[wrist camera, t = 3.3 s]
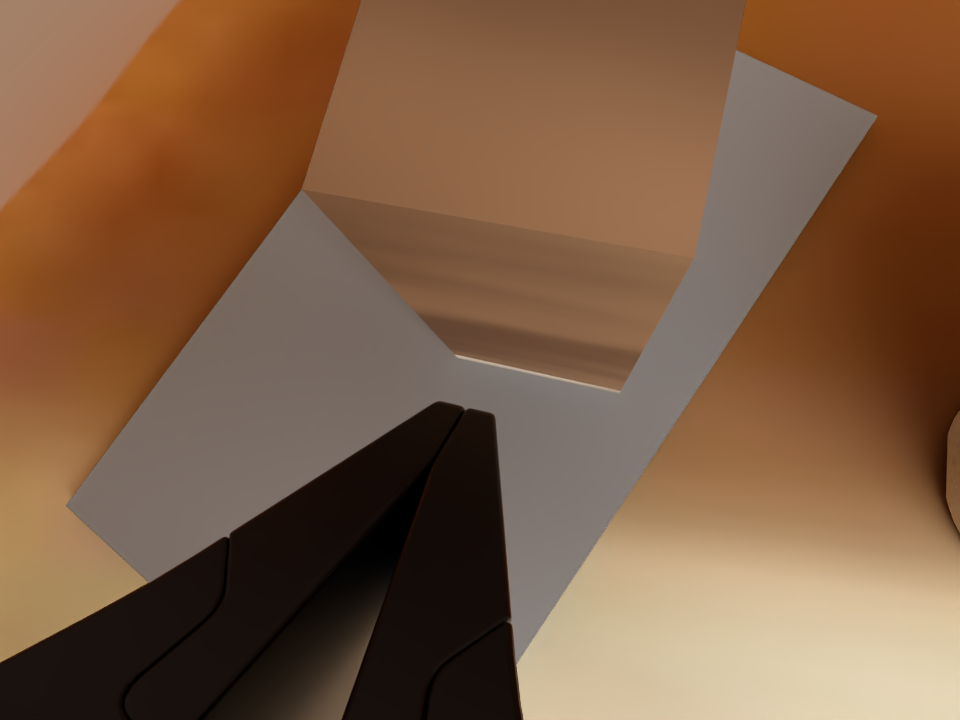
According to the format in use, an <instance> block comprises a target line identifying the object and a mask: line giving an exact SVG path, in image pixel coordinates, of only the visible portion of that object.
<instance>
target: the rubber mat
mask: <svg viewBox="0 0 960 720" xmlns="http://www.w3.org/2000/svg"><path fill="white" fill-rule="evenodd" d="M877 117H878V116H877V115H875V114H873V113H871V112H869V111H867V110H864V109H862V108H860V107H858V106H856V105H854V104H851V103H849V102H847V101H845V100H843V99H841V98H839V97H836V96H834V95H832V94H830V93H828V92H826V91H823V90H821V89H819V88H817V87H815V86H813V85H811V84H808V83H806V82H804V81H802V80H800V79H798V78H795V77H793V76H791V75H789V74H787V73H785V72H783V71H780V70H778V69H776V68H774V67H772V66H770V65H767V64H765V63H763V62H761V61H759V60H757V59H755V58H752V57H750V56H748V55H746V54H744V53H742V52H739V51H737V50H736V53H735V58H734V63H733V68H732V73H731V78H730V83H729V88H728V93H727V98H726V102H725V107H724V112H723V117H722V122H721V127H720V132H719V137H718V142H717V147H716V152H715V157H714V162H713V167H712V172H711V177H710V182H709V187H708V192H707V197H706V202H705V207H704V212H703V217H702V222H701V227H700V232H699V237H698V242H697V247H696V252H695V257H694V259H693V261H692V263H691V265H690V267H689V269H688V270H687V272H686V274H685V276H684V278H683V279H682V281H681V283H680V285H679V287H678V288H677V290H676V292H675V294H674V296H673V297H672V299H671V301H670V303H669V305H668V306H667V308H666V310H665V312H664V314H663V315H662V317H661V319H660V321H659V323H658V324H657V326H656V328H655V330H654V332H653V334H652V335H651V337H650V339H649V341H648V343H647V344H646V346H645V348H644V350H643V352H642V353H641V355H640V357H639V359H638V361H637V362H636V364H635V366H634V368H633V370H632V371H631V373H630V375H629V377H628V379H627V380H626V382H625V384H624V386H623V388H622V389H621V391H620V393H619V394H618V393H613V392H609V391H604V390H600V389H595V388H591V387H586V386H582V385H577V384H573V383H568V382H564V381H559V380H555V379H550V378H546V377H541V376H537V375H532V374H528V373H523V372H519V371H514V370H510V369H505V368H501V367H496V366H492V365H487V364H483V363H478V362H474V361H469V360H465V359H460V358H457V357H456V355H455V354H454V353H453V352H452V351H451V350H450V349H449V348H448V347H447V346H446V345H445V344H444V343H443V341H442V340H441V339H440V338H439V337H438V336H437V335H436V334H435V333H434V332H433V331H432V330H431V328H430V327H429V326H428V325H427V324H426V323H425V322H424V321H423V320H422V319H421V318H420V317H419V316H418V314H417V313H416V312H415V311H414V310H413V309H412V308H411V307H410V306H409V305H408V304H407V303H406V301H405V300H404V299H403V298H402V297H401V296H400V295H399V294H398V293H397V292H396V291H395V290H394V289H393V287H392V286H391V285H390V284H389V283H388V282H387V281H386V280H385V279H384V278H383V277H382V276H381V274H380V273H379V272H378V271H377V270H376V269H375V268H374V267H373V266H372V265H371V264H370V263H369V262H368V260H367V259H366V258H365V257H364V256H363V255H362V254H361V253H360V252H359V251H358V250H357V249H356V247H355V246H354V245H353V244H352V243H351V242H350V241H349V240H348V239H347V238H346V237H345V236H344V234H343V233H342V232H341V231H340V230H339V229H338V228H337V227H336V226H335V225H334V224H333V223H332V222H331V220H330V219H329V218H328V217H327V216H326V215H325V214H324V213H323V212H322V211H321V210H320V209H319V207H318V206H317V205H316V204H315V203H314V202H313V201H312V200H311V199H310V198H309V197H308V196H307V195H306V193H305V192H304V191H303V190H301V191H300V192H299V194H298V195H297V196H296V198H295V199H294V200H293V202H292V203H291V204H290V206H289V207H288V208H287V210H286V211H285V212H284V214H283V215H282V217H281V218H280V219H279V221H278V222H277V223H276V225H275V226H274V227H273V229H272V230H271V231H270V233H269V234H268V235H267V237H266V238H265V239H264V241H263V242H262V243H261V245H260V246H259V247H258V249H257V250H256V251H255V253H254V254H253V255H252V257H251V258H250V259H249V261H248V262H247V263H246V265H245V266H244V267H243V269H242V270H241V271H240V273H239V274H238V276H237V277H236V278H235V280H234V281H233V282H232V284H231V285H230V286H229V288H228V289H227V290H226V292H225V293H224V294H223V296H222V297H221V298H220V300H219V301H218V302H217V304H216V305H215V306H214V308H213V309H212V310H211V312H210V313H209V314H208V316H207V317H206V318H205V320H204V321H203V322H202V324H201V325H200V326H199V328H198V329H197V330H196V332H195V333H194V334H193V336H192V337H191V339H190V340H189V341H188V343H187V344H186V345H185V347H184V348H183V349H182V351H181V352H180V353H179V355H178V356H177V357H176V359H175V360H174V361H173V363H172V364H171V365H170V367H169V368H168V369H167V371H166V372H165V373H164V375H163V376H162V377H161V379H160V380H159V381H158V383H157V384H156V385H155V387H154V388H153V389H152V391H151V392H150V393H149V395H148V396H147V398H146V399H145V400H144V402H143V403H142V404H141V406H140V407H139V408H138V410H137V411H136V412H135V414H134V415H133V416H132V418H131V419H130V420H129V422H128V423H127V424H126V426H125V427H124V428H123V430H122V431H121V432H120V434H119V435H118V436H117V438H116V439H115V440H114V442H113V443H112V444H111V446H110V447H109V448H108V450H107V451H106V452H105V454H104V455H103V457H102V458H101V459H100V461H99V462H98V463H97V465H96V466H95V467H94V469H93V470H92V471H91V473H90V474H89V475H88V477H87V478H86V479H85V481H84V482H83V483H82V485H81V486H80V487H79V489H78V490H77V491H76V493H75V494H74V495H73V497H72V498H71V499H70V501H69V502H68V503H67V505H66V507H68V508H69V509H70V510H71V511H72V512H73V513H74V514H75V515H76V516H77V517H78V518H79V519H81V520H82V521H83V522H84V523H85V524H86V525H87V526H88V527H89V528H90V529H91V530H92V531H94V532H95V533H96V534H97V535H98V536H99V537H100V538H101V539H102V540H103V541H104V542H105V543H107V544H108V545H109V546H110V547H111V548H112V549H113V550H114V551H115V552H116V553H117V554H118V555H120V556H121V557H122V558H123V559H124V560H125V561H126V562H127V563H128V564H129V565H130V566H131V567H133V568H134V569H135V570H136V571H137V572H138V573H139V574H140V575H141V576H142V577H143V578H144V579H145V580H147V581H148V582H151V581H153V580H154V579H156V578H158V577H159V576H161V575H162V574H164V573H166V572H167V571H169V570H171V569H172V568H174V567H176V566H177V565H179V564H181V563H182V562H184V561H185V560H187V559H189V558H190V557H192V556H194V555H195V554H197V553H199V552H200V551H202V550H203V549H205V548H206V547H208V546H209V545H211V544H213V543H214V542H216V541H217V540H219V539H220V538H222V537H228V538H229V535H230V533H231V532H232V531H233V530H235V529H237V528H238V527H240V526H241V525H243V524H244V523H246V522H248V521H249V520H251V519H252V518H254V517H255V516H257V515H258V514H260V513H262V512H263V511H265V510H266V509H268V508H269V507H271V506H273V505H274V504H276V503H277V502H279V501H280V500H282V499H284V498H285V497H287V496H288V495H290V494H291V493H293V492H295V491H296V490H298V489H299V488H301V487H302V486H304V485H305V484H307V483H309V482H310V481H312V480H313V479H315V478H316V477H318V476H320V475H321V474H323V473H324V472H326V471H327V470H329V469H331V468H332V467H334V466H335V465H337V464H338V463H340V462H342V461H343V460H345V459H346V458H348V457H349V456H351V455H352V454H354V453H356V452H357V451H359V450H360V449H362V448H363V447H365V446H367V445H368V444H370V443H371V442H373V441H374V440H376V439H378V438H379V437H381V436H382V435H384V434H385V433H387V432H388V431H390V430H392V429H393V428H395V427H396V426H398V425H399V424H401V423H403V422H404V421H406V420H407V419H409V418H410V417H412V416H414V415H415V414H417V413H418V412H420V411H421V410H423V409H425V408H426V407H428V406H429V405H431V404H432V403H434V402H437V401H443V402H447V403H452V404H456V405H460V406H463V408H464V409H465V410H466V409H469V408H473V409H477V410H481V411H485V412H490V413H493V414H494V416H495V419H496V430H497V442H498V454H499V467H500V479H501V491H502V503H503V515H504V528H505V540H506V552H507V564H508V577H509V589H510V601H511V613H512V622H511V624H512V626H513V634H514V646H515V659H516V664H517V662H518V661H519V659H520V658H521V656H522V655H523V653H524V652H525V650H526V649H527V647H528V646H529V644H530V642H531V641H532V639H533V638H534V636H535V635H536V633H537V632H538V630H539V629H540V627H541V626H542V624H543V623H544V621H545V620H546V618H547V617H548V615H549V614H550V612H551V611H552V609H553V608H554V606H555V605H556V603H557V602H558V600H559V599H560V597H561V595H562V594H563V592H564V591H565V589H566V588H567V586H568V585H569V583H570V582H571V580H572V579H573V577H574V576H575V574H576V573H577V571H578V570H579V568H580V567H581V565H582V564H583V562H584V561H585V559H586V558H587V556H588V555H589V553H590V552H591V550H592V549H593V547H594V545H595V544H596V542H597V541H598V539H599V538H600V536H601V535H602V533H603V532H604V530H605V529H606V527H607V526H608V524H609V523H610V521H611V520H612V518H613V517H614V515H615V514H616V512H617V511H618V509H619V508H620V506H621V505H622V503H623V502H624V500H625V498H626V497H627V495H628V494H629V492H630V491H631V489H632V488H633V486H634V485H635V483H636V482H637V480H638V479H639V477H640V476H641V474H642V473H643V471H644V470H645V468H646V467H647V465H648V464H649V462H650V461H651V459H652V458H653V456H654V455H655V453H656V452H657V450H658V448H659V447H660V445H661V444H662V442H663V441H664V439H665V438H666V436H667V435H668V433H669V432H670V430H671V429H672V427H673V426H674V424H675V423H676V421H677V420H678V418H679V417H680V415H681V414H682V412H683V411H684V409H685V408H686V406H687V405H688V403H689V401H690V400H691V398H692V397H693V395H694V394H695V392H696V391H697V389H698V388H699V386H700V385H701V383H702V382H703V380H704V379H705V377H706V376H707V374H708V373H709V371H710V370H711V368H712V367H713V365H714V364H715V362H716V361H717V359H718V358H719V356H720V354H721V353H722V351H723V350H724V348H725V347H726V345H727V344H728V342H729V341H730V339H731V338H732V336H733V335H734V333H735V332H736V330H737V329H738V327H739V326H740V324H741V323H742V321H743V320H744V318H745V317H746V315H747V314H748V312H749V311H750V309H751V308H752V306H753V304H754V303H755V301H756V300H757V298H758V297H759V295H760V294H761V292H762V291H763V289H764V288H765V286H766V285H767V283H768V282H769V280H770V279H771V277H772V276H773V274H774V273H775V271H776V270H777V268H778V267H779V265H780V264H781V262H782V261H783V259H784V257H785V256H786V254H787V253H788V251H789V250H790V248H791V247H792V245H793V244H794V242H795V241H796V239H797V238H798V236H799V235H800V233H801V232H802V230H803V229H804V227H805V226H806V224H807V223H808V221H809V220H810V218H811V217H812V215H813V214H814V212H815V211H816V209H817V207H818V206H819V204H820V203H821V201H822V200H823V198H824V197H825V195H826V194H827V192H828V191H829V189H830V188H831V186H832V185H833V183H834V182H835V180H836V179H837V177H838V176H839V174H840V173H841V171H842V170H843V168H844V167H845V165H846V164H847V162H848V160H849V159H850V157H851V156H852V154H853V153H854V151H855V150H856V148H857V147H858V145H859V144H860V142H861V141H862V139H863V138H864V136H865V135H866V133H867V132H868V130H869V129H870V127H871V126H872V124H873V123H874V121H875V120H876V118H877Z"/></svg>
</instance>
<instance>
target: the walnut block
mask: <svg viewBox="0 0 960 720" xmlns="http://www.w3.org/2000/svg"><path fill="white" fill-rule="evenodd" d="M745 3H746V0H361V3H360V6H359V9H358V13H357V16H356V19H355V22H354V25H353V28H352V32H351V35H350V38H349V41H348V44H347V47H346V51H345V54H344V57H343V60H342V63H341V66H340V69H339V73H338V76H337V79H336V82H335V85H334V88H333V92H332V95H331V98H330V101H329V104H328V107H327V111H326V114H325V117H324V120H323V123H322V126H321V129H320V133H319V136H318V139H317V142H316V145H315V148H314V152H313V155H312V158H311V161H310V164H309V167H308V170H307V174H306V177H305V180H304V183H303V186H302V190H303V191H304V192H305V193H306V195H307V196H308V197H309V198H310V199H311V200H312V201H313V202H314V203H315V204H316V205H317V206H318V207H319V209H320V210H321V211H322V212H323V213H324V214H325V215H326V216H327V217H328V218H329V219H330V220H331V222H332V223H333V224H334V225H335V226H336V227H337V228H338V229H339V230H340V231H341V232H342V233H343V234H344V236H345V237H346V238H347V239H348V240H349V241H350V242H351V243H352V244H353V245H354V246H355V247H356V249H357V250H358V251H359V252H360V253H361V254H362V255H363V256H364V257H365V258H366V259H367V260H368V262H369V263H370V264H371V265H372V266H373V267H374V268H375V269H376V270H377V271H378V272H379V273H380V274H381V276H382V277H383V278H384V279H385V280H386V281H387V282H388V283H389V284H390V285H391V286H392V287H393V289H394V290H395V291H396V292H397V293H398V294H399V295H400V296H401V297H402V298H403V299H404V300H405V301H406V303H407V304H408V305H409V306H410V307H411V308H412V309H413V310H414V311H415V312H416V313H417V314H418V316H419V317H420V318H421V319H422V320H423V321H424V322H425V323H426V324H427V325H428V326H429V327H430V328H431V330H432V331H433V332H434V333H435V334H436V335H437V336H438V337H439V338H440V339H441V340H442V341H443V343H444V344H445V345H446V346H447V347H448V348H449V349H450V350H451V351H452V352H453V353H454V354H455V355H456V357H457V358H460V359H465V360H469V361H474V362H478V363H483V364H487V365H492V366H496V367H501V368H505V369H510V370H514V371H519V372H523V373H528V374H532V375H537V376H541V377H546V378H550V379H555V380H559V381H564V382H568V383H573V384H577V385H582V386H586V387H591V388H595V389H600V390H604V391H609V392H613V393H618V394H619V393H620V391H621V389H622V388H623V386H624V384H625V382H626V380H627V379H628V377H629V375H630V373H631V371H632V370H633V368H634V366H635V364H636V362H637V361H638V359H639V357H640V355H641V353H642V352H643V350H644V348H645V346H646V344H647V343H648V341H649V339H650V337H651V335H652V334H653V332H654V330H655V328H656V326H657V324H658V323H659V321H660V319H661V317H662V315H663V314H664V312H665V310H666V308H667V306H668V305H669V303H670V301H671V299H672V297H673V296H674V294H675V292H676V290H677V288H678V287H679V285H680V283H681V281H682V279H683V278H684V276H685V274H686V272H687V270H688V269H689V267H690V265H691V263H692V261H693V259H694V257H695V252H696V247H697V242H698V237H699V232H700V227H701V222H702V217H703V212H704V207H705V202H706V197H707V192H708V187H709V182H710V177H711V172H712V167H713V162H714V157H715V152H716V147H717V142H718V137H719V132H720V127H721V122H722V117H723V112H724V107H725V102H726V98H727V93H728V88H729V83H730V78H731V73H732V68H733V63H734V58H735V53H736V48H737V43H738V38H739V33H740V28H741V23H742V18H743V13H744V8H745Z"/></svg>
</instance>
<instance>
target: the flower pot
mask: <svg viewBox="0 0 960 720" xmlns="http://www.w3.org/2000/svg"><path fill="white" fill-rule="evenodd" d="M946 499H947V503H948V507H949V510H950V512H951V515H952V518H953V521H954V523H955V525H956V526H957V528H958V530H959V532H960V411H959V412H958V413H957V415H956V416H955V418H954V420H953V422H952V425H951V427H950V429H949V432H948V438H947V477H946Z"/></svg>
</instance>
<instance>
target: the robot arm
mask: <svg viewBox="0 0 960 720" xmlns="http://www.w3.org/2000/svg"><path fill="white" fill-rule="evenodd" d="M511 622H512V613H511V601H510V589H509V577H508V564H507V552H506V540H505V528H504V515H503V503H502V491H501V479H500V467H499V454H498V442H497V430H496V419H495V416H494V414H493V413H490V412H485V411H481V410H477V409H473V408H469V409H466V410H465V409H464V408H463V406H460V405H456V404H452V403H447V402H443V401H437V402H434V403H432V404H431V405H429V406H428V407H426V408H425V409H423V410H421V411H420V412H418V413H417V414H415V415H414V416H412V417H410V418H409V419H407V420H406V421H404V422H403V423H401V424H399V425H398V426H396V427H395V428H393V429H392V430H390V431H388V432H387V433H385V434H384V435H382V436H381V437H379V438H378V439H376V440H374V441H373V442H371V443H370V444H368V445H367V446H365V447H363V448H362V449H360V450H359V451H357V452H356V453H354V454H352V455H351V456H349V457H348V458H346V459H345V460H343V461H342V462H340V463H338V464H337V465H335V466H334V467H332V468H331V469H329V470H327V471H326V472H324V473H323V474H321V475H320V476H318V477H316V478H315V479H313V480H312V481H310V482H309V483H307V484H305V485H304V486H302V487H301V488H299V489H298V490H296V491H295V492H293V493H291V494H290V495H288V496H287V497H285V498H284V499H282V500H280V501H279V502H277V503H276V504H274V505H273V506H271V507H269V508H268V509H266V510H265V511H263V512H262V513H260V514H258V515H257V516H255V517H254V518H252V519H251V520H249V521H248V522H246V523H244V524H243V525H241V526H240V527H238V528H237V529H235V530H233V531H232V532H231V533H230V535H229V538H228V537H222V538H220V539H219V540H217V541H216V542H214V543H213V544H211V545H209V546H208V547H206V548H205V549H203V550H202V551H200V552H199V553H197V554H195V555H194V556H192V557H190V558H189V559H187V560H185V561H184V562H182V563H181V564H179V565H177V566H176V567H174V568H172V569H171V570H169V571H167V572H166V573H164V574H162V575H161V576H159V577H158V578H156V579H154V580H153V581H151V582H149V583H147V584H146V585H144V586H142V587H140V588H138V589H137V590H135V591H133V592H131V593H129V594H128V595H126V596H124V597H122V598H120V599H118V600H117V601H115V602H113V603H111V604H109V605H108V606H106V607H104V608H102V609H100V610H99V611H97V612H95V613H93V614H91V615H89V616H87V617H85V618H84V619H82V620H80V621H78V622H76V623H74V624H72V625H70V626H68V627H67V628H65V629H63V630H61V631H59V632H57V633H55V634H53V635H51V636H50V637H48V638H46V639H44V640H42V641H40V642H38V643H36V644H34V645H33V646H31V647H29V648H27V649H25V650H23V651H21V652H19V653H17V654H16V655H14V656H12V657H10V658H8V659H6V660H4V661H2V662H0V720H524V719H523V714H522V708H521V701H520V692H519V684H518V676H517V667H516V659H515V646H514V634H513V626H512V624H511Z"/></svg>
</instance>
